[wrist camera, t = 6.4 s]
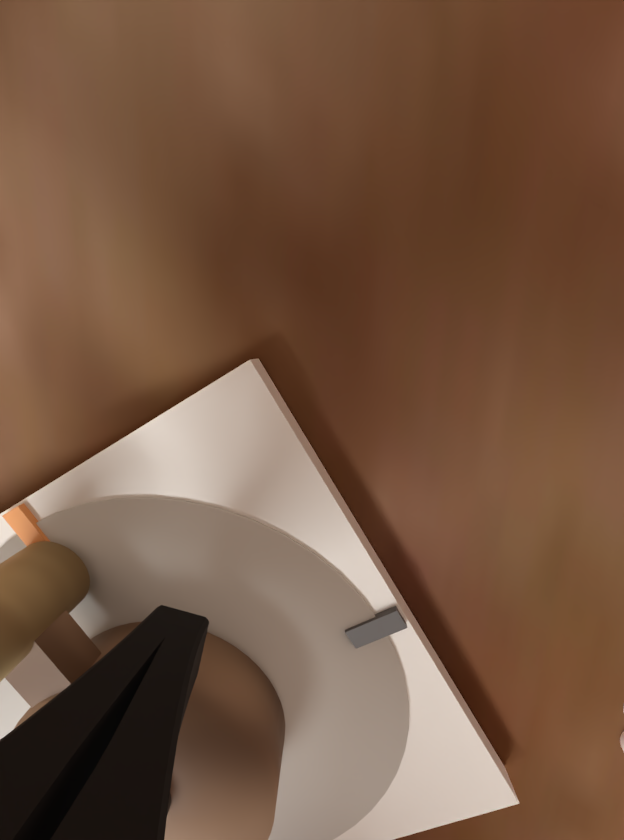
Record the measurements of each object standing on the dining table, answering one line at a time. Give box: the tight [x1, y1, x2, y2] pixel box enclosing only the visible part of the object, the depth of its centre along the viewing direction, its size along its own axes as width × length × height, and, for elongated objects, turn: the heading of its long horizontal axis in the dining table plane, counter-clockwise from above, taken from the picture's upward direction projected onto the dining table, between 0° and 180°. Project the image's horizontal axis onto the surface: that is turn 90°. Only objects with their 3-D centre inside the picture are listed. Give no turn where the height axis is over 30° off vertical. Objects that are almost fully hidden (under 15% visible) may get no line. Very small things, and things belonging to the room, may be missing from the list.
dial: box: [0, 541, 285, 840], centre depth 9 cm, size 12×8×4 cm
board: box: [0, 358, 520, 840], centre depth 12 cm, size 18×18×1 cm
